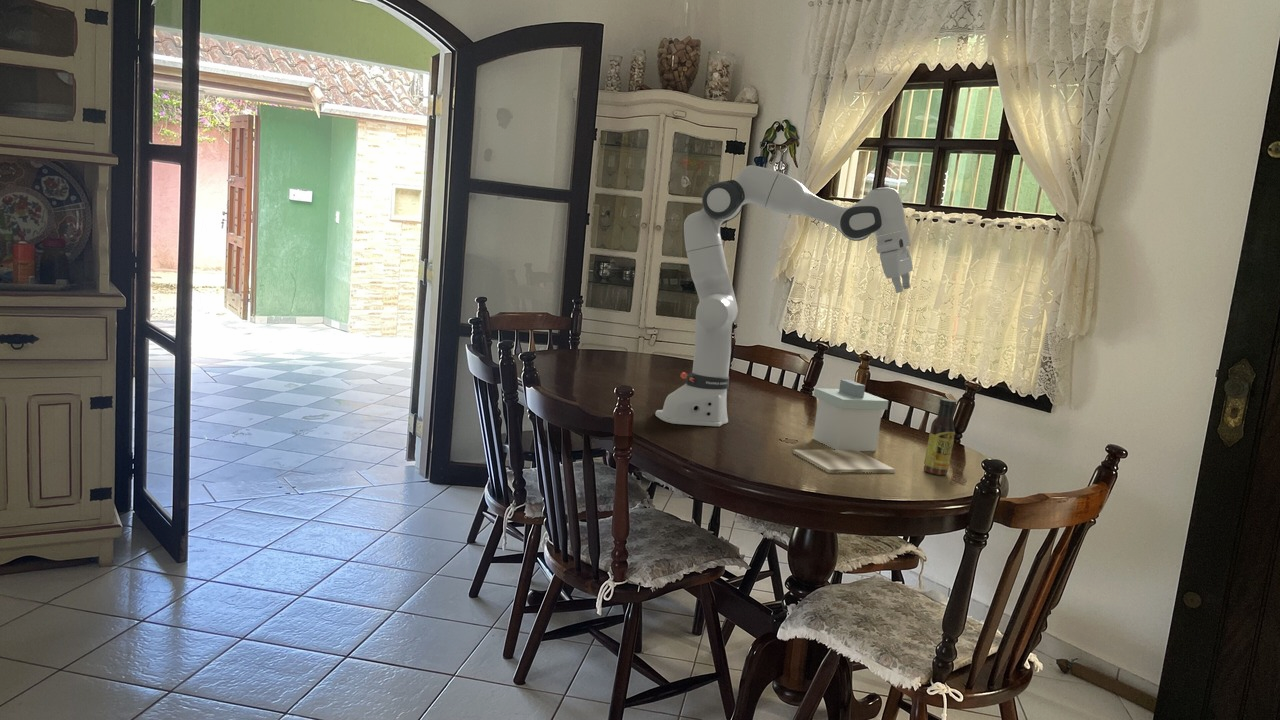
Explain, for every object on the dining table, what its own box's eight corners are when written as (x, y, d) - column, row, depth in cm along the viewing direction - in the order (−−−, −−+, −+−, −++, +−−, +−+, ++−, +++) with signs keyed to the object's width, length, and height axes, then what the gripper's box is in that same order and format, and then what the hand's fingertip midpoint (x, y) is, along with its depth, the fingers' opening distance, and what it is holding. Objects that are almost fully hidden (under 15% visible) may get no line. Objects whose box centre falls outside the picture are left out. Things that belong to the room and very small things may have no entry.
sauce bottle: (934, 476, 221) (946, 402, 218) (917, 469, 227) (929, 397, 224) (953, 475, 224) (965, 402, 221) (936, 468, 230) (948, 397, 226)
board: (828, 473, 214) (828, 469, 214) (793, 453, 231) (793, 449, 231) (894, 472, 221) (895, 469, 221) (855, 453, 238) (856, 450, 238)
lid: (841, 408, 235) (844, 387, 234) (813, 396, 249) (816, 376, 248) (887, 409, 240) (890, 388, 239) (857, 397, 254) (860, 378, 253)
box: (836, 450, 238) (843, 402, 236) (812, 438, 250) (819, 392, 248) (875, 451, 243) (883, 403, 241) (850, 439, 255) (857, 393, 253)
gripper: (891, 243, 253) (900, 288, 254) (874, 248, 236) (884, 296, 237) (912, 238, 250) (921, 284, 251) (896, 242, 232) (906, 292, 234)
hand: (903, 290), depth 244 cm, fingers open, 8 cm apart
